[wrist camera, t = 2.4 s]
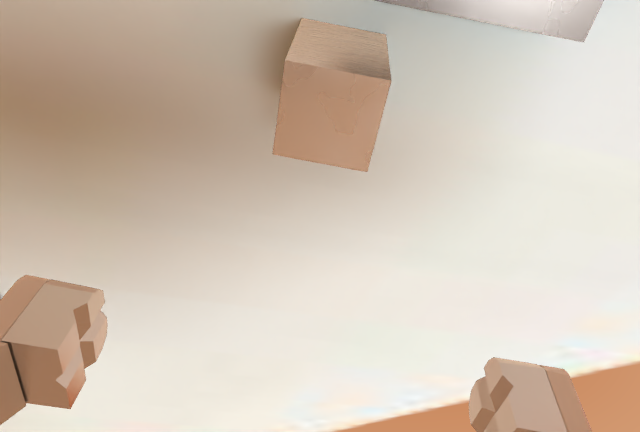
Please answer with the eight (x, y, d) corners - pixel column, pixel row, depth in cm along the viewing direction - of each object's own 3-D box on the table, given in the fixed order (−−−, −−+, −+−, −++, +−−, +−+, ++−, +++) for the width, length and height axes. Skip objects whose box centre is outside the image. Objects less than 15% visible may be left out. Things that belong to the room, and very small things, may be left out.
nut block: (366, 112, 26) (367, 171, 21) (290, 98, 26) (272, 154, 21) (385, 34, 23) (391, 80, 18) (301, 17, 23) (284, 60, 18)
